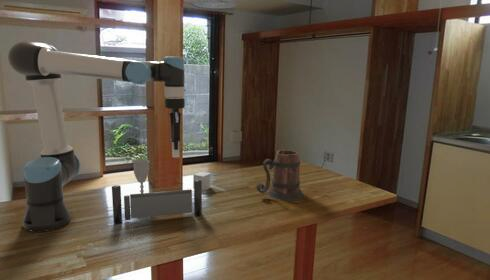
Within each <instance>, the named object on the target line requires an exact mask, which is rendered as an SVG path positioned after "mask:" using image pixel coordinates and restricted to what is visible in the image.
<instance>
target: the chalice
mask: <svg viewBox="0 0 490 280" xmlns="http://www.w3.org/2000/svg"><path fill="white" fill-rule="evenodd" d="M132 164H133V173H134V176H135V178H136V181H137V182H138V183H140V185H139V188H140V190H139V192H140V194H141V193H145V190H144V188H145V186H144V183H145V182H146V181H147V178H148V176H149V172H150V166H149V164H150V160H149V159H145V158H138V159H134V160H132Z"/></svg>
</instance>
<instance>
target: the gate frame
mask: <svg viewBox="0 0 490 280" xmlns="http://www.w3.org/2000/svg"><path fill="white" fill-rule="evenodd" d="M121 191H122V187H121V185H112V186H111V195H112V196H111V198H112V199H111V200H112V213H113V214H112V215H113V219H112V221H113V224H114V225H121V224H122V223H123V211H122V192H121ZM202 200H203V191H202V180H194V189H193V215H194V216H195V217H200V216H202V215H203V213H202V212H203V207H202V206H203V205H202V204H203V203H202V202H203V201H202Z"/></svg>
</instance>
